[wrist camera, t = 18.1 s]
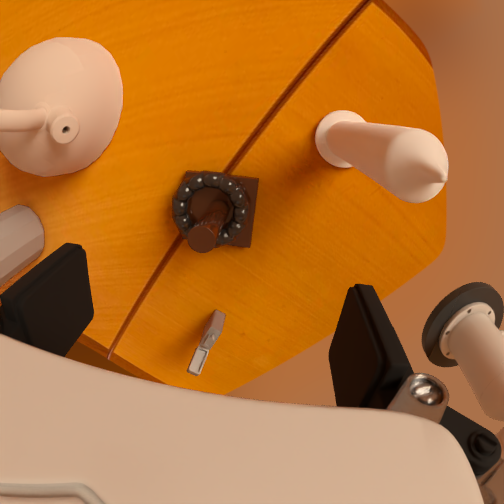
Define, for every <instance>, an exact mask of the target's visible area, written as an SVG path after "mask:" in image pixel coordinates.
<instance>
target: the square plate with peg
mask: <svg viewBox="0 0 504 504" xmlns="http://www.w3.org/2000/svg"><path fill="white" fill-rule="evenodd" d="M199 172H201V171H191V170H188V171H186V177H185V179H186V178H188V177H190V176H192V175H194V174H196V173H199ZM226 175H228V176H229V177H231V178H232V179H233V180H235V181H236V182H238V183H239V184H240V185H241V186H242V188H243V190H244V192H245V194H246V196H247V199H248V201H249V203H250V212H249V220H248V225H247V227H246V228H245V230H244V231H243V232H242V233H241V235H240V236H239V237H238V238H237V240H236V241H234V242H232V243H229V244H227V245H233V246H240V247H248V248H250V245H251V238H252V230H253V222H254V214H255V206H256V198H257V190H258V183H259V178H254V177H246V176H238V175H229V174H226ZM188 214H189V216H190V218H191V220H192V222H193V224H194V226H193V227H192V229H191V230H190V231H189V233H188V237H187V238H185V237H184V236H182V239H188V243H189V245H190V247H191V248H192V249H193V250H194V251H196V252H199V253H206V252H209V251H211V250H212V249H213V248H214V246H215V244H216V242H217V239H218V237H219V235H220V233H221V230H222V229H224V228H226V226H227V225H228V224H229V222H230V221H231V220H232V214H233V206H232V204H231V202H230V200H229V198H228V196H227V195H225V194H224V193H222V192H221V191H220V190H218V189H213V188H203V189H201V190H199V191H197V192H195V193H194V194H193V196H192V197H191V198H190V200H189V201H188Z"/></svg>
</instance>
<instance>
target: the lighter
mask: <svg viewBox="0 0 504 504" xmlns="http://www.w3.org/2000/svg"><path fill="white" fill-rule="evenodd" d="M225 316H226V315H225V314H224V313H222V312H220V311H218V310H215V311H214V313H213V314H212V316H211V318H210V319H209V321H208V322H207V324H206V326H205V327H204V331H203V334H202V337H201V340H200V343H199V345H200V346H198V347H197V348H196V349H195V352H194V354H193V357H192V359H191V361H190V364H189V366H188V368H187V372H188V373H190V374H193V375H195V376H198V375H199V374H200V373H201V370H202V368H203V365H204V363H205V360H206V358H207V355H208V353H209V350H210V349H211V347H212V346H213V344H214V343H215V341H216V340H217V339H218V337H219V336H220V334H221V333H222V328H223V324H224V320H225Z"/></svg>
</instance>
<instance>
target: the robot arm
mask: <svg viewBox="0 0 504 504" xmlns="http://www.w3.org/2000/svg"><path fill="white" fill-rule="evenodd" d="M0 299H1V303H2V306H1V307H0V504H504V427H503V428H502V429H501V430H500V431H499V432H498V433H497V434H496V435H494V434H493V433H492V432H490V431H489V430H487V429H486V428H484V427H482V426H480V425H479V424H477V423H475V422H474V421H472V420H470V419H468V418H467V417H465V416H463V415H462V414H460V413H458V412H457V411H455V410H453V409H452V408H450V407H448V406H447V404H448V401H449V393H448V390H447V388H446V386H445V385H444V384H443V383H442V382H441V381H440V380H439V379H437V378H436V377H434V376H432V375H429V374H425V373H415V374H414V372H413V370H412V367H411V365H410V363H409V361H408V358H407V356H406V354H405V352H404V349H403V347H402V345H401V343H400V341H399V339H398V337H397V334H396V332H395V330H394V328H393V326H392V324H391V322H390V320H389V318H388V316H387V314H386V312H385V310H384V308H383V306H382V304H381V302H380V300H379V298H378V296H377V294H376V292H375V290H374V288H373V286H372V285H364V284H355V286H354V287H350V288H349V289H348V292H347V295H346V299H345V302H344V305H343V308H342V312H341V315H340V318H339V321H338V324H337V328H336V331H335V334H334V337H333V340H332V343H331V346H330V349H329V362H330V368H331V374H332V380H333V386H334V391H335V397H336V404H337V406H325V405H308V404H295V403H294V404H293V403H283V402H273V401H264V400H255V399H247V398H240V397H233V396H226V395H220V394H213V393H207V392H202V391H196V390H191V389H185V388H180V387H175V386H170V385H165V384H161V383H156V382H152V381H148V380H143V379H139V378H135V377H131V376H127V375H123V374H119V373H115V372H111V371H108V370H105V369H101V368H97V367H94V366H91V365H87V364H84V363H81V362H78V361H74V360H71V359H68V358H65V355H66V354H67V352H68V351H69V350H70V348H71V347H72V346H73V344H74V343H75V342H76V340H77V339H78V338H79V336H80V335H81V334H82V332H83V331H84V330H85V328H86V327H87V326H88V324H89V323H90V322H91V320H92V319H93V315H94V309H93V303H92V296H91V290H90V283H89V275H88V267H87V259H86V252H85V250H84V249H83V248H82V246H81V245H78V244H72V243H65V244H64V245H62V246H61V247H60V248H58V249H57V250H56V251H54V252H53V253H52V254H50V255H49V256H48V257H46V258H45V259H44V260H43V261H41V262H40V263H39V264H37V265H36V266H35V267H34V268H32V269H31V270H30V271H29V272H27V273H26V274H25V275H24V276H22V277H21V278H20V279H19V280H18V281H16V282H15V283H14V284H13V285H12V286H10V287H9V288H8V289H7V290H6V291H5V292H3V293H2V294H1V295H0ZM494 323H495V314H494V312H493V310H492V308H491V307H490V306H489V305H488V304H486V303H483V302H475V303H471V304H468V305H466V306H464V307H463V308H461V309H460V310H458V311H457V312H456V313H455V314H454V315H453V316H452V317H451V318H450V319H449V320H448V321H447V323H446V324H445V326H444V328H443V330H442V332H441V334H440V338H439V347H440V350H441V352H442V353H443V355H444V356H445V357H447V358H449V359H455V360H456V361H457V363H458V365H459V366H460V368H461V370H462V372H463V374H464V376H465V377H466V379H467V381H468V383H469V385H470V386H471V388H472V390H473V392H474V394H475V396H476V398H477V400H478V402H479V404H480V406H481V407H482V409H483V411H484V412H485V414H486V415H487V416H489V417H490V418H492V419H495V420H499V421H504V330H498V328H497V327H496V326H495V325H494Z"/></svg>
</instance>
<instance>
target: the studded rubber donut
mask: <svg viewBox="0 0 504 504" xmlns="http://www.w3.org/2000/svg"><path fill="white" fill-rule="evenodd" d="M203 188H213V189H218V190H220V191H221V192H222V193H224V194H225V195H227V196H228V198H229V200H230V202H231V204H232V206H233V214H232V220H231V221H230V222H229V224H228V225H227V226H226V228H224V229H222V230H221V233H220V235H219V237H218V239H217V242H216V244H215V246H214V248H219V247H222V246H224V245H227V244H229V243H232V242H234V241H236V240H237V238H238V237H239V236H240V235H241V233H242V232H243V231H244V230H245V228H246V227H247V225H248V220H249V212H250V203H249V201H248V199H247V196H246V194H245V192H244V190H243V188H242V186H241V185H240V184H239V183H238V182H236V181H235V180H233V179H232V178H231V177H229V176H228V175H226V174H225V173H221V172H211V171H201V172H199V173H196V174H194V175H192V176H190V177H188V178H186V179H184V180H183V181H182V183H181V184H180V186H179V187H178V189H177V190H176V192H175V193H174V195H173V198H172V218H173V220H174V222H175V224H176V226H177V228H178V230H179V232H180V234H181V235H182V236H184V237H185V238H187V237H188V233H189V231H190V230H191V229H192V227H193V226H194V224H193V222H192V220H191V218H190V216H189V214H188V201H189V200H190V198H191V197H192V196H193V194H194V193H195V192H197V191H199V190H201V189H203Z"/></svg>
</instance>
